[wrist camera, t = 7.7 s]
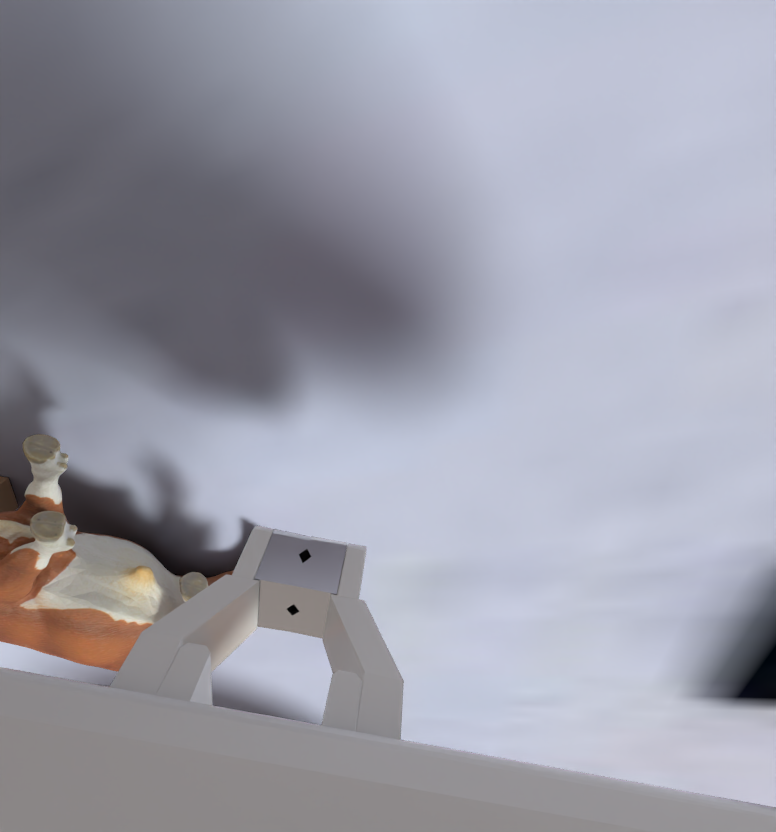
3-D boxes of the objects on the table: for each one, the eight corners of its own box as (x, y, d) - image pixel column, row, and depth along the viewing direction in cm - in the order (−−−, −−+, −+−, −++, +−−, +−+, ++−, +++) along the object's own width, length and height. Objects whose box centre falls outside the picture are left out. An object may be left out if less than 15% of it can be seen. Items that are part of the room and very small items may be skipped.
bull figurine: (-269, 493, 9) (-287, 656, 12) (302, 636, 16) (188, 716, 19) (-111, 366, 12) (-160, 523, 16) (304, 530, 19) (206, 614, 22)
